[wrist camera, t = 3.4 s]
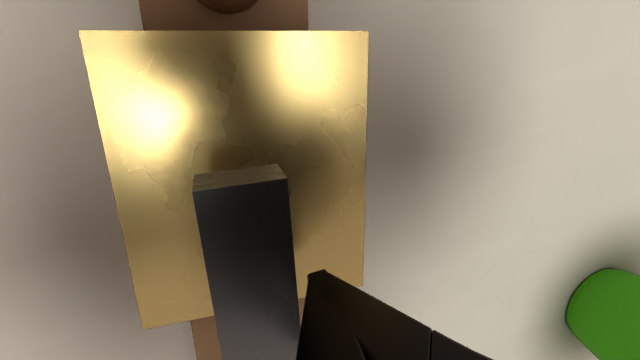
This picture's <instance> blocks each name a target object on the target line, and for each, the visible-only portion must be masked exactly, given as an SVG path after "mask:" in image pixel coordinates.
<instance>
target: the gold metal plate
mask: <svg viewBox="0 0 640 360" xmlns="http://www.w3.org/2000/svg"><path fill="white" fill-rule="evenodd" d="M78 31H79V35H80V40H81V44H82V49H83V54H84V58H85V63H86V68H87V72H88V77H89V82H90V86H91V91H92V96H93V100H94V105H95V109H96V114H97V119H98V123H99V128H100V133H101V137H102V142H103V147H104V151H105V156H106V161H107V165H108V170H109V174H110V179H111V184H112V188H113V193H114V198H115V202H116V207H117V212H118V216H119V221H120V226H121V230H122V235H123V239H124V244H125V249H126V253H127V258H128V263H129V267H130V272H131V277H132V281H133V286H134V291H135V295H136V300H137V304H138V309H139V314H140V318H141V323H142V328H143V330H144V329H149V328H154V327H159V326H164V325H169V324H174V323H179V322H184V321H189V320H194V319H199V318H204V317H209V316H214V311H213V305H212V300H211V294H210V289H209V283H208V278H207V272H206V267H205V261H204V256H203V250H202V245H201V239H200V234H199V228H198V223H197V217H196V212H195V206H194V201H193V195H192V187H193V179H194V174H202V173H209V172H217V171H225V170H232V169H240V168H247V167H255V166H263V165H270V164H278V165H279V167H280V168H281V170H282V171H283V172H284V174H285V175H286V177H287V178H288V190H289V201H290V213H291V224H292V236H293V247H294V259H295V270H296V281H297V293H298V299H299V298H304V297H306V290H307V284H308V281H307V275H308V274H309V273H312V272H316V271H319V270H322V269H325V270H327V272H329V273H331V274H333V275H334V276H336V277H338V278H340V279H342V280H344V281H345V282H347V283H349V284H351V285H353V286H355V287H359V286H363V265H364V219H365V173H366V126H367V80H368V34H369V31H100V30H78Z"/></svg>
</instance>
